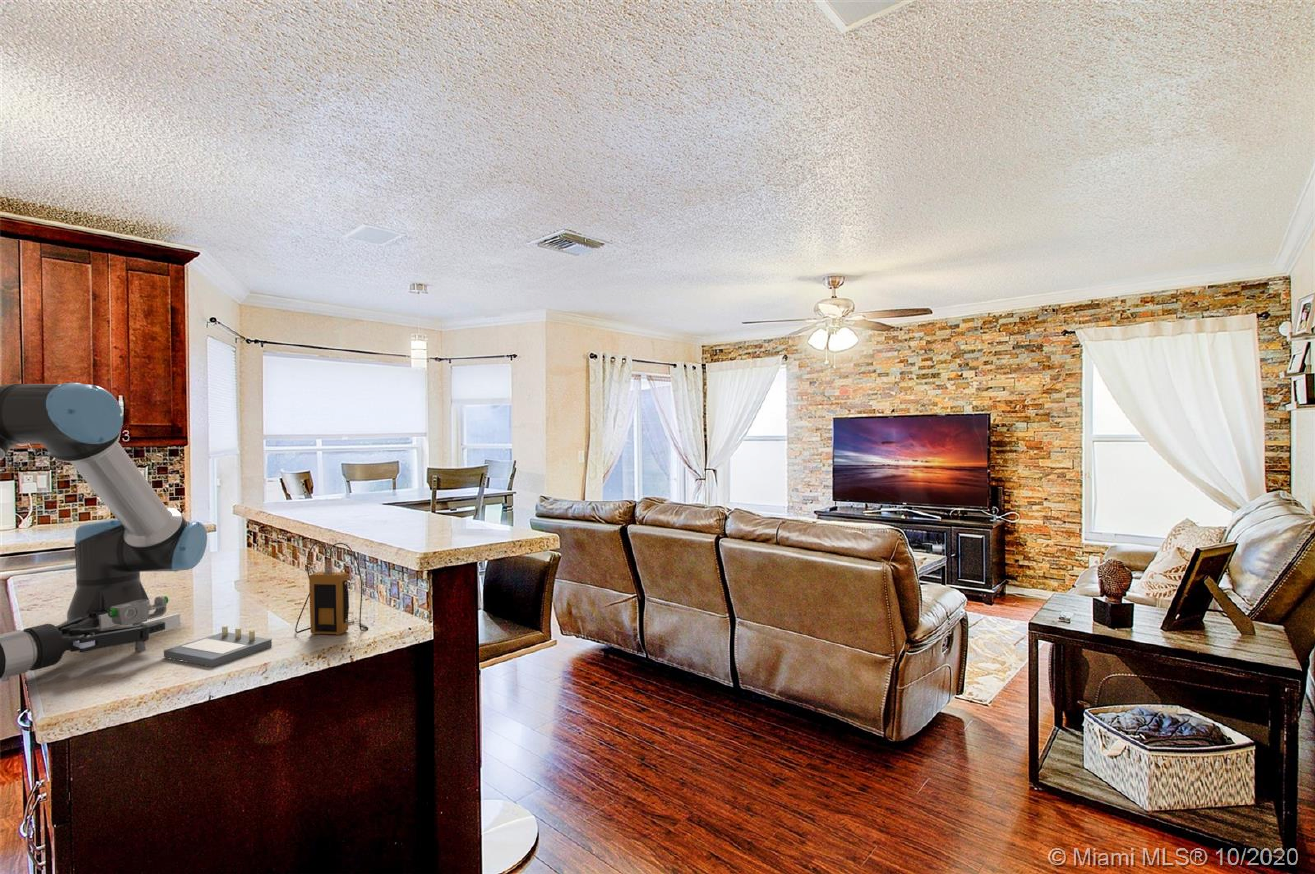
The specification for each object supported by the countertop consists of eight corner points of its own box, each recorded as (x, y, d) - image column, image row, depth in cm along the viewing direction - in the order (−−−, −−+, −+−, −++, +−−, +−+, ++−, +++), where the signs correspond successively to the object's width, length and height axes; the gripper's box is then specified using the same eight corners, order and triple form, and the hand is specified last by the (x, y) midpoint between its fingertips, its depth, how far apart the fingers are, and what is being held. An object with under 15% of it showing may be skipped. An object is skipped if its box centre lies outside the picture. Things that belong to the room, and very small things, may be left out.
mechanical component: (171, 643, 134) (170, 595, 134) (116, 660, 125) (115, 608, 125) (161, 641, 135) (160, 594, 135) (106, 658, 126) (105, 607, 126)
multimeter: (382, 621, 148) (380, 535, 148) (357, 636, 138) (356, 543, 138) (321, 620, 150) (320, 534, 149) (293, 634, 140) (291, 542, 139)
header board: (163, 657, 126) (163, 640, 126) (224, 638, 137) (224, 622, 137) (212, 667, 121) (212, 648, 121) (271, 646, 132) (271, 629, 132)
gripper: (-13, 662, 118) (119, 628, 138) (68, 681, 109) (198, 641, 129) (-15, 621, 118) (118, 593, 138) (67, 637, 109) (197, 604, 128)
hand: (157, 616), depth 133 cm, fingers open, 13 cm apart
